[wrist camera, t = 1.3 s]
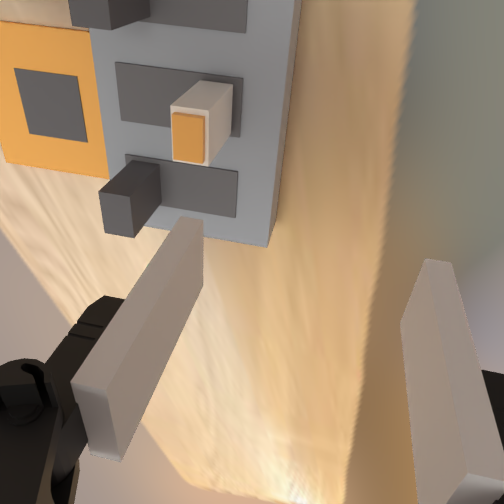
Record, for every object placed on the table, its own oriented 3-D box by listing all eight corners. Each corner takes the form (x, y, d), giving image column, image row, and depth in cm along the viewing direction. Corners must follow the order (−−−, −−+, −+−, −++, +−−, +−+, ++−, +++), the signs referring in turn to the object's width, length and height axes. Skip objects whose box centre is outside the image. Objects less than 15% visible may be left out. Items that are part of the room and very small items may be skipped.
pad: (-31, 17, 31) (-37, 17, 31) (113, 34, 30) (110, 35, 29) (9, 160, 37) (5, 162, 37) (129, 180, 36) (126, 182, 36)
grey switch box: (106, -108, 25) (4, -128, 18) (312, -92, 24) (291, -107, 16) (136, 196, 37) (82, 258, 30) (275, 220, 35) (253, 290, 28)
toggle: (200, 80, 26) (167, 107, 21) (233, 84, 25) (206, 113, 21) (200, 129, 27) (170, 164, 23) (230, 133, 27) (206, 169, 23)
